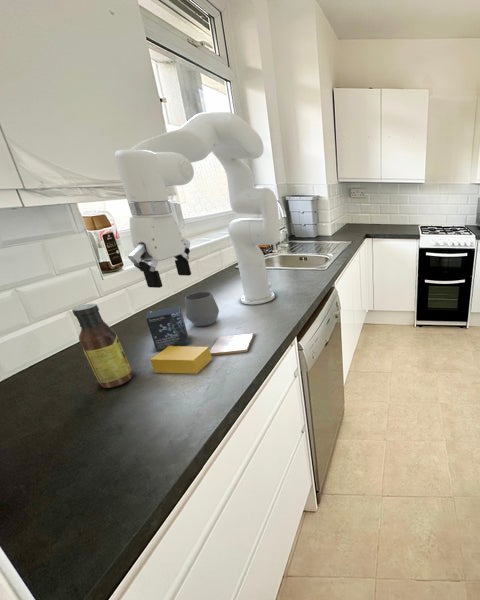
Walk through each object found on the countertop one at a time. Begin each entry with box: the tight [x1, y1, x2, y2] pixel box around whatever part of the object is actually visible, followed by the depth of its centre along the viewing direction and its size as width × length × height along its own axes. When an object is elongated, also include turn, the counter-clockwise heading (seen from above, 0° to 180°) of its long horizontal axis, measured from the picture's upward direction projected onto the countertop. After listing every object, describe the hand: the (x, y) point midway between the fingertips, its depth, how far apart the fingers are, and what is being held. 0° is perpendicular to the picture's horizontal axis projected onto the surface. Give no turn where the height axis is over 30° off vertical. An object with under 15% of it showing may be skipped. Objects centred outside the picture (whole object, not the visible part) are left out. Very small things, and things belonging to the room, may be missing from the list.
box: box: [145, 305, 190, 352], centre depth 91 cm, size 8×6×11 cm
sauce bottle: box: [71, 303, 133, 389], centre depth 72 cm, size 7×6×20 cm
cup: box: [184, 291, 220, 327], centre depth 104 cm, size 10×9×10 cm
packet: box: [149, 345, 213, 375], centre depth 81 cm, size 6×11×4 cm, turn 88°
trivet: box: [209, 332, 255, 357], centre depth 92 cm, size 10×10×1 cm
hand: (171, 280), depth 78 cm, fingers open, 9 cm apart
